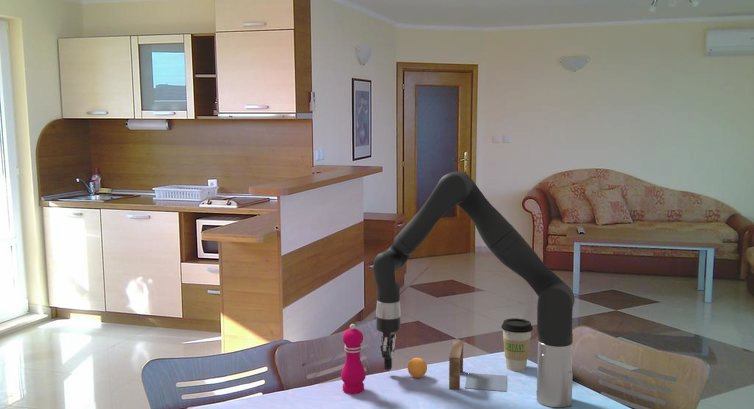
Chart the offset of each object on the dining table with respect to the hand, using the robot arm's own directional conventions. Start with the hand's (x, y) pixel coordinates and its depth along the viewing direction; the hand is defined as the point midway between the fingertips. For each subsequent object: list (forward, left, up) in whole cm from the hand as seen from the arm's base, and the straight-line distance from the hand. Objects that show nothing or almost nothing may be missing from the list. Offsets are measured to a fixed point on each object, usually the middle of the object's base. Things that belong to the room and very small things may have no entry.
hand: (388, 368), depth 196 cm
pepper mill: (+8, +14, -2) cm, 16 cm away
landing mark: (-30, 0, -2) cm, 30 cm away
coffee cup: (-39, -14, -2) cm, 42 cm away
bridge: (-21, 0, -2) cm, 21 cm away
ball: (-9, 0, +1) cm, 9 cm away
